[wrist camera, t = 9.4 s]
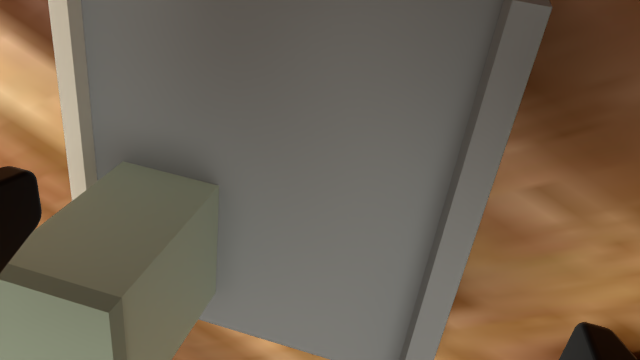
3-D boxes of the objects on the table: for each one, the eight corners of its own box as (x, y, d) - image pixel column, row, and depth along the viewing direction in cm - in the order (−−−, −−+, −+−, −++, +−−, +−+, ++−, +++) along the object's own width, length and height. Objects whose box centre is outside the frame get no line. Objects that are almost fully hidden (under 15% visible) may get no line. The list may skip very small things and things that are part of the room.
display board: (68, -103, 20) (-20, -99, 17) (539, -20, 18) (551, 7, 14) (103, 272, 30) (50, 326, 26) (417, 365, 27) (406, 440, 23)
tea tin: (119, 159, 24) (-27, 271, 17) (220, 184, 23) (108, 312, 16) (127, 268, 27) (6, 399, 20) (216, 293, 26) (120, 439, 20)
